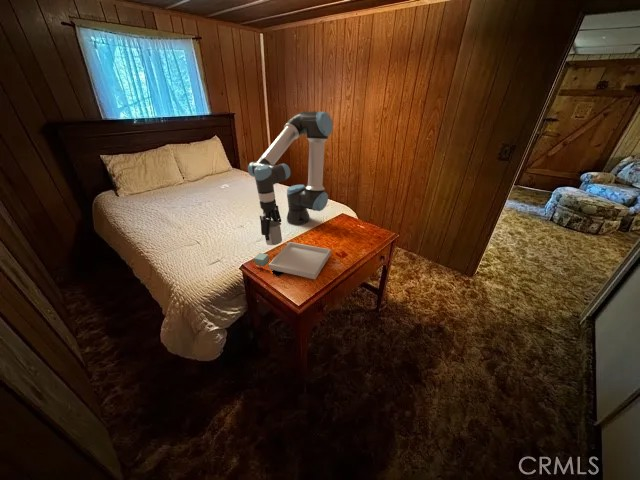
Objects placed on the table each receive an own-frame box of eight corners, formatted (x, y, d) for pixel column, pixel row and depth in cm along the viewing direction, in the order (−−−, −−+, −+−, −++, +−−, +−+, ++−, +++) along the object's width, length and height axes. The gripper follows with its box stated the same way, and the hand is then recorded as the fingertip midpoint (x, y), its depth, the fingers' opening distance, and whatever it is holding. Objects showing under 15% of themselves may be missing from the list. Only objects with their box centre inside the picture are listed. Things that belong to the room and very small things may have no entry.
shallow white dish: (290, 248, 138) (289, 241, 136) (331, 256, 130) (331, 249, 128) (269, 271, 120) (268, 264, 118) (315, 282, 113) (314, 274, 111)
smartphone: (258, 266, 125) (278, 278, 116) (257, 264, 125) (277, 276, 116) (269, 259, 130) (289, 270, 121) (269, 258, 130) (289, 268, 121)
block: (260, 261, 128) (259, 252, 126) (269, 262, 127) (268, 254, 124) (255, 266, 124) (253, 258, 122) (264, 268, 123) (262, 260, 120)
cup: (278, 245, 128) (276, 228, 123) (263, 244, 130) (260, 227, 124) (284, 237, 135) (281, 220, 130) (269, 236, 137) (266, 219, 131)
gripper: (271, 191, 130) (277, 229, 142) (247, 207, 113) (256, 249, 125) (284, 192, 127) (289, 231, 139) (262, 209, 111) (269, 252, 123)
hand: (274, 240), depth 132 cm, fingers closed on cup, 8 cm apart
